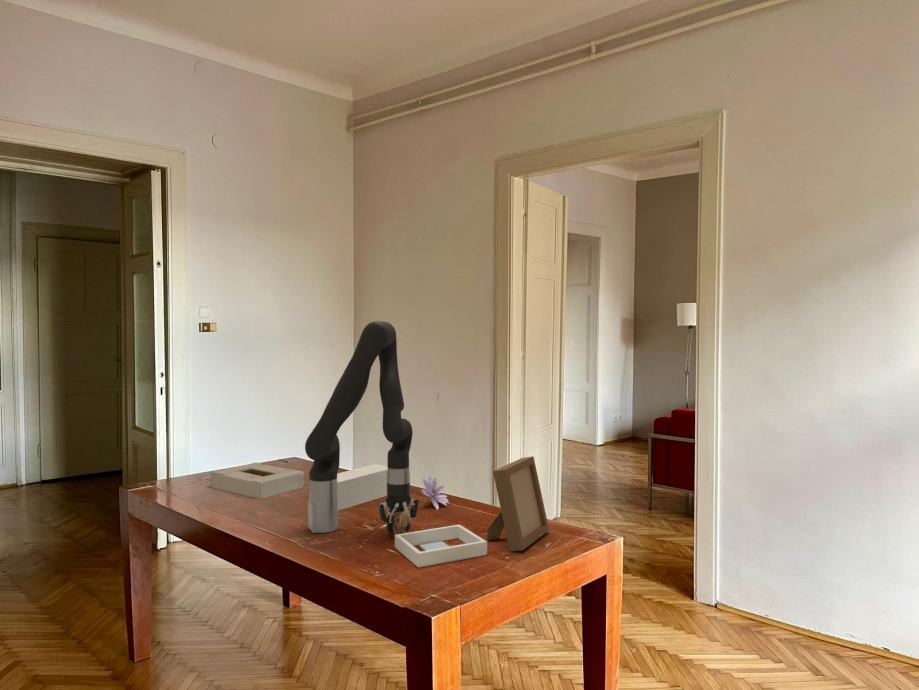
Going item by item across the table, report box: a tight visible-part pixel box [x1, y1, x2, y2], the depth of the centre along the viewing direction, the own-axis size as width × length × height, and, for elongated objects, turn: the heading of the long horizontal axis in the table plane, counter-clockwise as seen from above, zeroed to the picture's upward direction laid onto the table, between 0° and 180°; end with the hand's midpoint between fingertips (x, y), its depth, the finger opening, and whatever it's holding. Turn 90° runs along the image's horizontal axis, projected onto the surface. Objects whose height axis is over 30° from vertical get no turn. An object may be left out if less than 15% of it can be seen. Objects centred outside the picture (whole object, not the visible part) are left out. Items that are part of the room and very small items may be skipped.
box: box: [210, 462, 305, 500], centre depth 280 cm, size 23×8×32 cm
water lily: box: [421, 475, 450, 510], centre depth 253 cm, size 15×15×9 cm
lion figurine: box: [385, 511, 413, 540], centre depth 218 cm, size 15×5×9 cm, turn 34°
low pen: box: [394, 524, 488, 568], centre depth 203 cm, size 22×18×4 cm
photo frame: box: [485, 456, 550, 552], centre depth 213 cm, size 15×22×25 cm
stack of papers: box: [337, 463, 387, 511], centre depth 260 cm, size 32×11×11 cm, turn 142°
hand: (398, 532), depth 217 cm, fingers open, 5 cm apart
